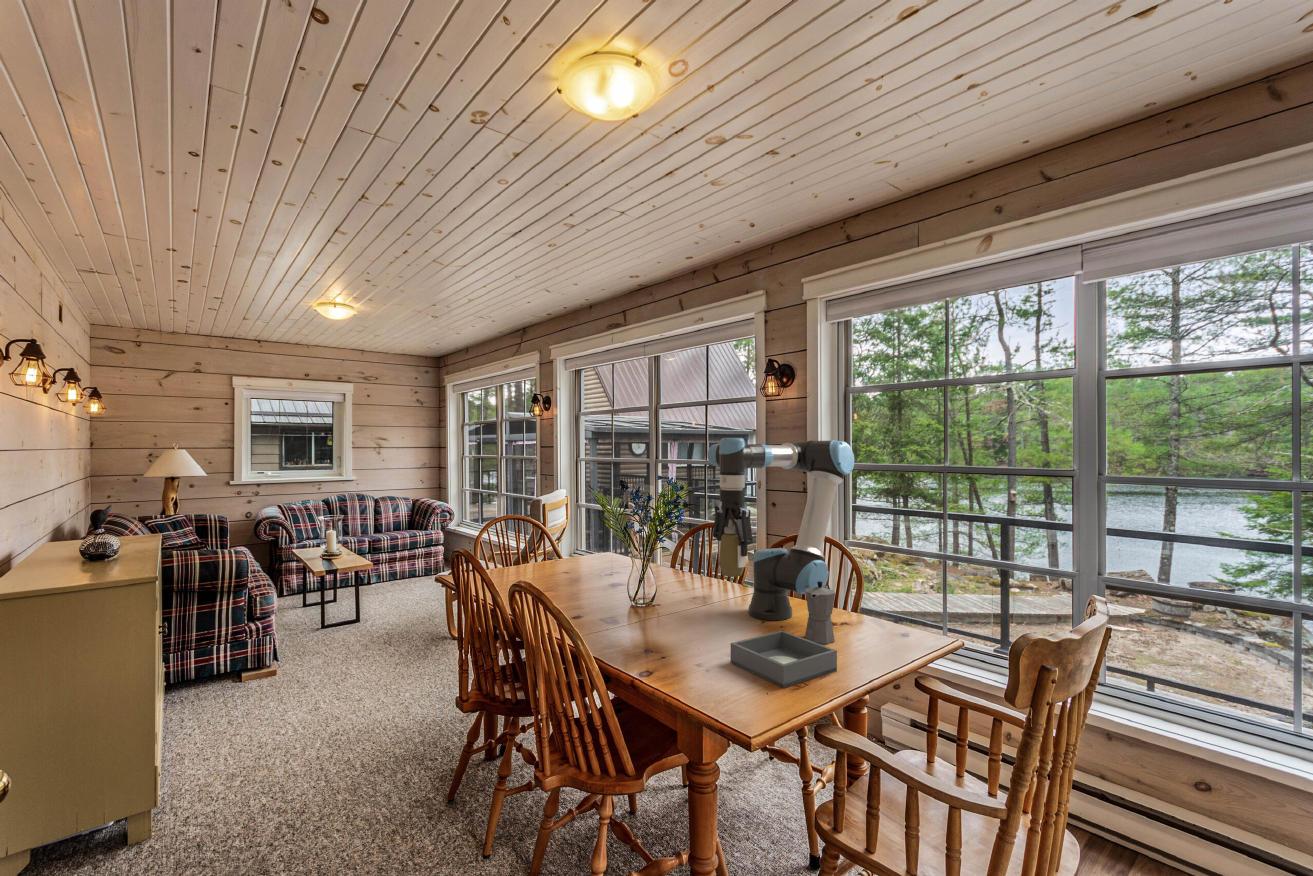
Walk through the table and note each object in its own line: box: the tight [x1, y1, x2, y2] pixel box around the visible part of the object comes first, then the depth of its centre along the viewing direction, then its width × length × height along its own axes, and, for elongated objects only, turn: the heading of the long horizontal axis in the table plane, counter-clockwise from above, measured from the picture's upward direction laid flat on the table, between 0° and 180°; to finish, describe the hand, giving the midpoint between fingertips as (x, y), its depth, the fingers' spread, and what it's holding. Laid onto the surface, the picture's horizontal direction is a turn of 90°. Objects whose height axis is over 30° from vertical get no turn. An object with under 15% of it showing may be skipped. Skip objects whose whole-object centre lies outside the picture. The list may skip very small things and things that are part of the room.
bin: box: [730, 630, 838, 689], centre depth 161 cm, size 20×20×6 cm
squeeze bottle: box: [718, 519, 745, 578], centre depth 178 cm, size 8×8×18 cm
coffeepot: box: [804, 581, 836, 645], centre depth 184 cm, size 15×9×18 cm, turn 147°
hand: (732, 564), depth 178 cm, fingers closed on squeeze bottle, 8 cm apart
